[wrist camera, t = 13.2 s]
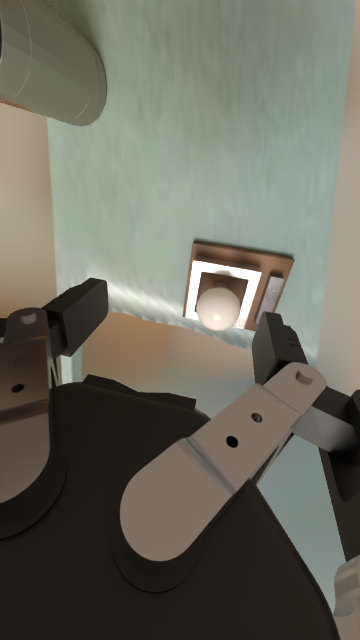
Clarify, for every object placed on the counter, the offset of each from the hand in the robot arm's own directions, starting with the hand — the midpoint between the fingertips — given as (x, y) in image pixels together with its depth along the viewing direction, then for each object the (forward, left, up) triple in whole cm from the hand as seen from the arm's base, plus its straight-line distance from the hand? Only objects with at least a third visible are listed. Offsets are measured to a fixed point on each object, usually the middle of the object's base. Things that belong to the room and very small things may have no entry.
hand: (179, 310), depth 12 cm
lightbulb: (+3, -11, -29) cm, 31 cm away
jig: (+5, -11, -30) cm, 32 cm away
